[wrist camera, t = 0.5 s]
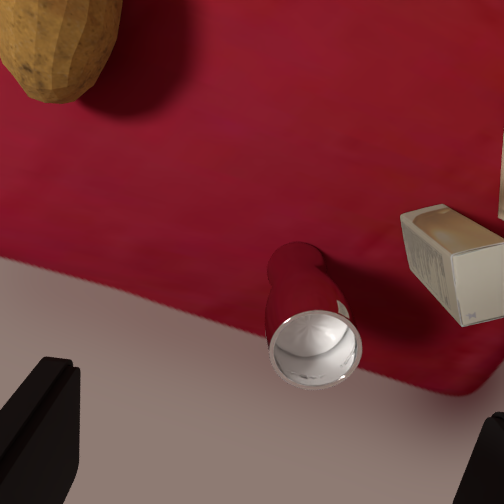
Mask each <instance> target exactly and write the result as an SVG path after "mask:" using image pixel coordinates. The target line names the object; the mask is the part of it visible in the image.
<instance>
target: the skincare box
mask: <svg viewBox="0 0 504 504" xmlns="http://www.w3.org/2000/svg"><path fill="white" fill-rule="evenodd" d="M400 219H401V226H402V232H403V238H404V243H405V248H406V253H407V258H408V262H409V267H410V270H411V271H412V272H413V273H414V274H415V275H416V276H417V278H418V279H419V280H420V281H421V282H422V283H423V284H424V285H425V286H426V288H427V289H428V290H429V291H430V292H431V293H432V294H433V295H434V296H435V298H436V299H437V300H438V301H439V302H440V303H441V304H442V305H443V307H444V308H445V309H446V310H447V311H448V312H449V313H450V314H451V315H452V317H453V318H454V319H455V320H456V321H457V322H458V323H459V324H460V325H461V326H462V327H464V326H468V325H473V324H477V323H482V322H486V321H491V320H495V319H499V318H503V317H504V238H502V237H500V236H498V235H497V234H495V233H493V232H491V231H489V230H488V229H486V228H484V227H482V226H481V225H479V224H477V223H475V222H474V221H472V220H470V219H468V218H467V217H465V216H463V215H461V214H459V213H458V212H456V211H454V210H452V209H451V208H449V207H447V206H446V205H444V204H439V205H435V206H431V207H427V208H423V209H419V210H415V211H411V212H407V213H404V214H401V216H400Z"/></svg>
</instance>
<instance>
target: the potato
mask: <svg viewBox="0 0 504 504" xmlns="http://www.w3.org/2000/svg"><path fill="white" fill-rule="evenodd" d="M122 3H123V0H0V57H1V60H2V63H3V64H4V65H5V67H6V68H7V69H8V70H9V71H10V72H11V73H12V75H13V76H14V77H15V79H16V80H17V81H18V83H19V84H20V85H21V87H22V88H23V90H24V91H25V92H26V94H27V95H28V96H29V97H30V98H33V99H36V100H39V101H42V102H45V103H59V104H64V103H68V102H73V101H75V100H77V99H78V98H79V97H80V96H81V95H82V94H84V93H85V92H86V91H87V90H88V89H89V88H91V87H92V86H94V84H95V82H96V81H97V79H98V77H99V75H100V73H101V71H102V70H103V68H104V66H105V64H106V62H107V60H108V58H109V56H110V54H111V52H112V49H113V47H114V45H115V42H116V40H117V35H118V29H119V23H120V16H121V10H122Z"/></svg>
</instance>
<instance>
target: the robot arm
mask: <svg viewBox="0 0 504 504" xmlns="http://www.w3.org/2000/svg"><path fill="white" fill-rule="evenodd" d="M79 429H80V368H79V367H73V362H72V360H70V359H62V358H54V357H43V358H42V359H41V360H40V362H39V363H38V364H37V365H36V367H35V368H34V369H33V370H32V371H31V373H30V374H29V375H28V376H27V378H26V379H25V380H24V381H23V383H22V384H21V385H20V386H19V388H18V389H17V390H16V391H15V393H14V394H13V395H12V396H11V398H10V399H9V400H8V401H7V403H6V404H5V405H4V406H3V408H2V409H1V410H0V504H63V502H64V501H65V498H66V496H67V494H68V492H69V489H70V488H71V485H72V483H73V481H74V479H75V476H76V473H77V470H78V465H79V434H80V433H79V432H80V431H79ZM453 504H504V412H495V413H494V414H493V415H492V416H491V417H489V418H487V419H486V420H485V422H484V424H483V426H482V429H481V432H480V434H479V437H478V440H477V442H476V444H475V447H474V450H473V452H472V455H471V457H470V460H469V462H468V465H467V467H466V470H465V473H464V475H463V477H462V480H461V483H460V485H459V488H458V490H457V493H456V495H455V498H454V500H453Z"/></svg>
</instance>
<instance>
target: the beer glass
mask: <svg viewBox="0 0 504 504" xmlns="http://www.w3.org/2000/svg"><path fill="white" fill-rule="evenodd" d="M267 277H268V280H269V283H270V285H271V290H270V293H269V296H268V299H267V304H266V308H265V332H266V339H267V345H268V349H269V357H270V362H271V364H272V367H273V369H274V370H275V372H276V373H277V374H278V375H279V377H280V378H282V379H283V380H284V381H285V382H287V383H289V384H290V385H293V386H295V387H298V388H301V389H307V390H321V389H326V388H330V387H333V386H335V385H337V384H339V383H341V382H342V381H344V380H345V379H347V378H348V377H349V376H350V375H351V374H352V373H353V372H354V370H355V369H356V367H357V366H358V364H359V361H360V359H361V355H362V341H361V338H360V335H359V333H358V329H357V325H356V321H355V318H354V315H353V312H352V309H351V307H350V304H349V303H348V301H347V299H346V297H345V295H344V293H343V292H342V291H341V289H340V288H339V287H338V286H337V284H336V283H335V282H334V281H333V280H332V279H331V278H330V277H329V276H328V275H327V265H326V261H325V259H324V257H323V255H322V254H321V252H320V251H319V250H318V249H316V248H315V247H313V246H312V245H309V244H307V243H302V242H293V243H289V244H286V245H283V246H282V247H280V248H279V249H277V250H276V251H275V252H274V253H273V254H272V256H271V258H270V259H269V262H268V265H267Z"/></svg>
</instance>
